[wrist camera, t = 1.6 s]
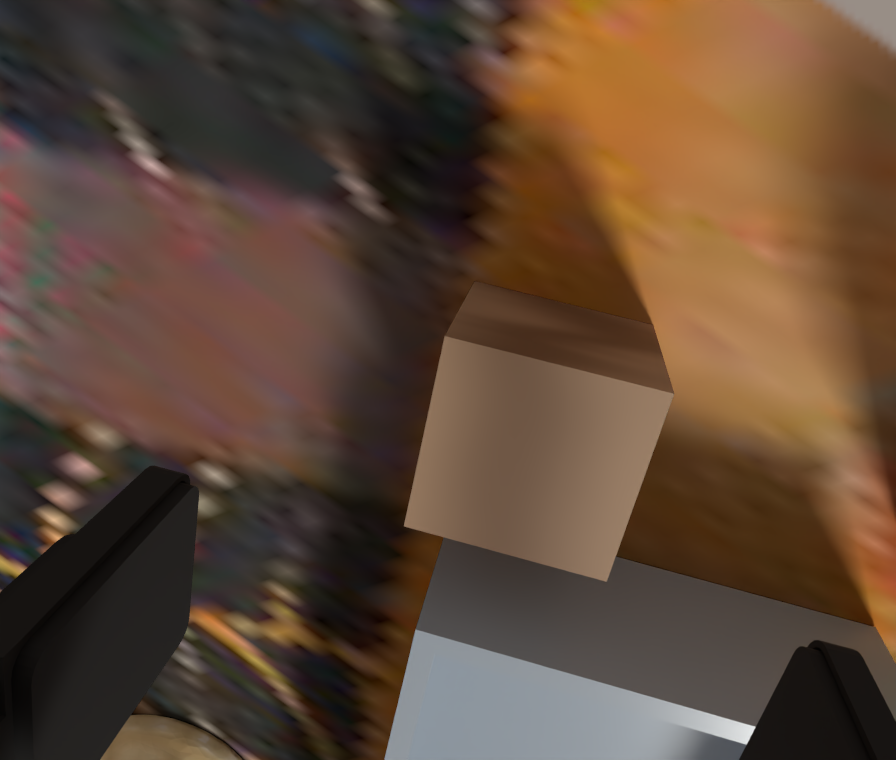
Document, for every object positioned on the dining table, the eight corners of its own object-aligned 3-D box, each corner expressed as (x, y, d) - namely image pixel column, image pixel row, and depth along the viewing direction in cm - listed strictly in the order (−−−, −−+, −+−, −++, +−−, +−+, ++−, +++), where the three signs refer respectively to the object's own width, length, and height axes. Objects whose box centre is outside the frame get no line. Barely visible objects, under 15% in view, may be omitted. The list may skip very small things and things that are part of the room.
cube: (652, 323, 20) (674, 393, 16) (601, 478, 22) (606, 581, 17) (475, 280, 20) (444, 335, 16) (439, 436, 22) (403, 526, 18)
